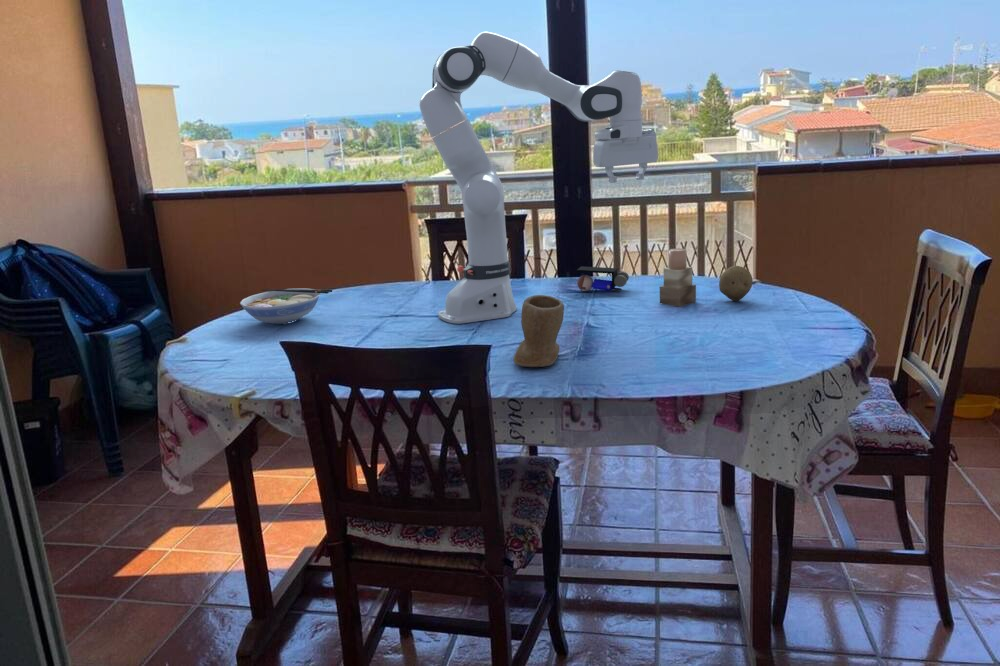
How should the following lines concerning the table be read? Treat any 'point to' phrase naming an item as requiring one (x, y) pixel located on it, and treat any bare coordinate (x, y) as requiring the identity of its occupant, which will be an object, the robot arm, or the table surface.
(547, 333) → the stone cup
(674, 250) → the tan rounded cylinder
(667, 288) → the tower base
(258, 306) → the ramen bowl
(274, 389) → the table surface
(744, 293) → the natural sponge
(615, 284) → the toy car
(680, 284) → the tower top
